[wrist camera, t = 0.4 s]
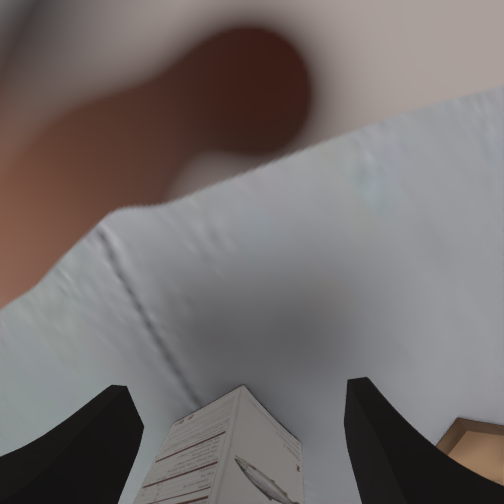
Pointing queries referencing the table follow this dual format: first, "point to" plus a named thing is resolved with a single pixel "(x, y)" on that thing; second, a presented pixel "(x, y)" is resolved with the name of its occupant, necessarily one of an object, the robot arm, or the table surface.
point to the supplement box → (226, 458)
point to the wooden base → (476, 447)
